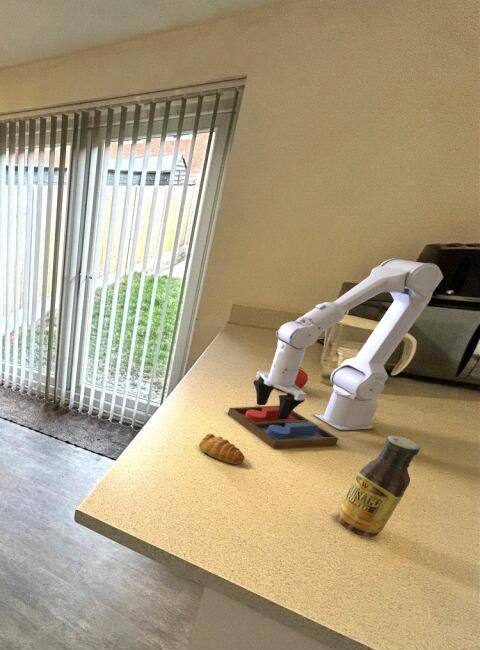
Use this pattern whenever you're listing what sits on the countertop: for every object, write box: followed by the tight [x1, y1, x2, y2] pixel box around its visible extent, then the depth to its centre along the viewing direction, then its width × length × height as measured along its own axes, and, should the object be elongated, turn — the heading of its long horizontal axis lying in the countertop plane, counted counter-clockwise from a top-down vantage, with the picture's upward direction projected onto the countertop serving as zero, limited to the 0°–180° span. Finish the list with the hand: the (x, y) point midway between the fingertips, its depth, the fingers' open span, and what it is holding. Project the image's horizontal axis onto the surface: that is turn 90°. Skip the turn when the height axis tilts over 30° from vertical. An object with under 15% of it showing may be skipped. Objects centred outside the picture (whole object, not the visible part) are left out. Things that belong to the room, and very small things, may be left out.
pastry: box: [198, 433, 246, 465], centre depth 96 cm, size 9×7×4 cm
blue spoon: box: [267, 421, 319, 439], centre depth 102 cm, size 12×4×3 cm, turn 93°
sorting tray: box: [227, 405, 340, 449], centre depth 107 cm, size 17×17×2 cm
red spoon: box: [245, 407, 291, 422], centre depth 110 cm, size 12×4×3 cm, turn 93°
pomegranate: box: [268, 367, 309, 391], centre depth 128 cm, size 10×10×9 cm
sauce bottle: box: [336, 435, 421, 538], centre depth 71 cm, size 7×6×20 cm
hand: (271, 411), depth 110 cm, fingers open, 7 cm apart
